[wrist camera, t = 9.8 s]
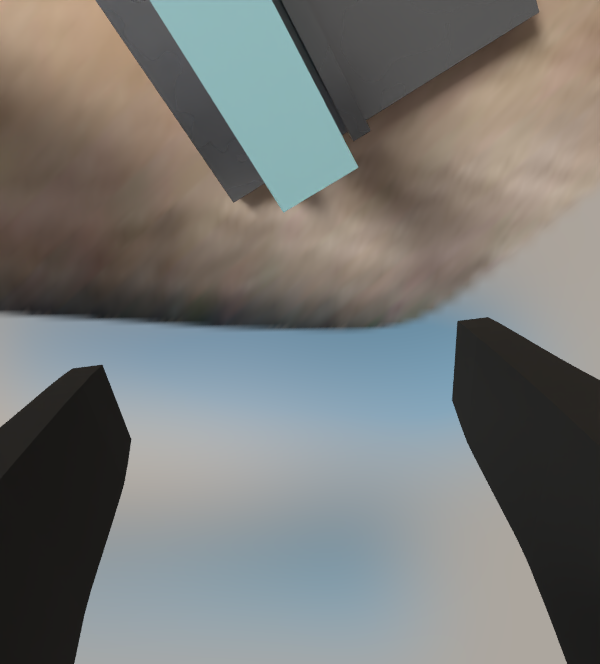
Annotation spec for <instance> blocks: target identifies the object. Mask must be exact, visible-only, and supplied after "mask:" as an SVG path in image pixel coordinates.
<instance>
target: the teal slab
mask: <svg viewBox="0 0 600 664" xmlns="http://www.w3.org/2000/svg"><path fill="white" fill-rule="evenodd" d="M150 2H151V3H152V5H153V6H154V8H155V10H156V11H157V13H158V14H159V16H160V18H161V19H162V21H163V22H164V24H165V25H166V27H167V29H168V30H169V32H170V33H171V35H172V37H173V38H174V40H175V41H176V43H177V44H178V46H179V48H180V49H181V51H182V52H183V54H184V56H185V57H186V59H187V60H188V62H189V64H190V65H191V67H192V68H193V70H194V71H195V73H196V75H197V76H198V78H199V79H200V81H201V83H202V84H203V86H204V87H205V89H206V91H207V92H208V94H209V95H210V97H211V98H212V100H213V102H214V103H215V105H216V106H217V108H218V110H219V111H220V113H221V114H222V116H223V117H224V119H225V121H226V122H227V124H228V125H229V127H230V129H231V130H232V132H233V133H234V135H235V137H236V138H237V140H238V141H239V143H240V144H241V146H242V148H243V149H244V151H245V152H246V154H247V156H248V157H249V159H250V160H251V162H252V163H253V165H254V167H255V168H256V170H257V171H258V173H259V175H260V176H261V178H262V179H263V181H264V183H265V184H266V186H267V187H268V189H269V190H270V192H271V194H272V195H273V197H274V198H275V200H276V202H277V203H278V205H279V206H280V208H281V210H282V211H283V212H285V211H287V210H288V209H290V208H292V207H293V206H295V205H297V204H298V203H300V202H302V201H303V200H305V199H307V198H308V197H310V196H312V195H313V194H315V193H317V192H318V191H320V190H322V189H323V188H325V187H327V186H328V185H330V184H332V183H333V182H335V181H337V180H338V179H340V178H342V177H343V176H345V175H347V174H348V173H350V172H352V171H353V170H355V169H357V168H358V166H357V164H356V162H355V160H354V158H353V156H352V154H351V152H350V150H349V148H348V146H347V144H346V142H345V141H344V139H343V137H342V135H341V133H340V131H339V129H338V127H337V125H336V123H335V121H334V119H333V117H332V115H331V114H330V112H329V110H328V108H327V106H326V104H325V102H324V100H323V98H322V96H321V94H320V92H319V90H318V88H317V87H316V85H315V83H314V81H313V79H312V77H311V75H310V73H309V71H308V69H307V67H306V65H305V63H304V61H303V60H302V58H301V56H300V54H299V52H298V50H297V48H296V46H295V44H294V42H293V40H292V38H291V36H290V34H289V32H288V31H287V29H286V27H285V25H284V23H283V21H282V19H281V17H280V15H279V13H278V11H277V9H276V7H275V5H274V4H273V2H272V0H150Z"/></svg>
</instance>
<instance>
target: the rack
mask: <svg viewBox="0 0 600 664" xmlns="http://www.w3.org/2000/svg"><path fill="white" fill-rule="evenodd" d="M96 2H97V3H98V5H99V6H100V7H101V9H102V10H103V12H104V13H105V15H106V16H107V18H108V19H109V21H110V22H111V24H112V25H113V27H114V28H115V29H116V31H117V32H118V34H119V35H120V37H121V38H122V40H123V41H124V43H125V44H126V46H127V47H128V49H129V50H130V51H131V53H132V54H133V56H134V57H135V59H136V60H137V62H138V63H139V65H140V66H141V68H142V69H143V71H144V72H145V74H146V75H147V76H148V78H149V79H150V81H151V82H152V84H153V85H154V87H155V88H156V90H157V91H158V93H159V94H160V96H161V97H162V98H163V100H164V101H165V103H166V104H167V106H168V107H169V109H170V110H171V112H172V113H173V115H174V116H175V118H176V119H177V120H178V122H179V123H180V125H181V126H182V128H183V129H184V131H185V132H186V134H187V135H188V137H189V138H190V140H191V141H192V142H193V144H194V145H195V147H196V148H197V150H198V151H199V153H200V154H201V156H202V157H203V159H204V160H205V162H206V163H207V164H208V166H209V167H210V169H211V170H212V172H213V173H214V175H215V176H216V178H217V179H218V181H219V182H220V184H221V185H222V186H223V188H224V189H225V191H226V192H227V194H228V195H229V197H230V198H231V200H232V201H233V203H234V202H236V201H237V200H239V199H240V198H242V197H244V196H245V195H247V194H248V193H250V192H252V191H253V190H255V189H256V188H258V187H260V186H261V185H263V184H264V181H263V179H262V178H261V176H260V175H259V173H258V171H257V170H256V168H255V167H254V165H253V163H252V162H251V160H250V159H249V157H248V156H247V154H246V152H245V151H244V149H243V148H242V146H241V144H240V143H239V141H238V140H237V138H236V137H235V135H234V133H233V132H232V130H231V129H230V127H229V125H228V124H227V122H226V121H225V119H224V117H223V116H222V114H221V113H220V111H219V110H218V108H217V106H216V105H215V103H214V102H213V100H212V98H211V97H210V95H209V94H208V92H207V91H206V89H205V87H204V86H203V84H202V83H201V81H200V79H199V78H198V76H197V75H196V73H195V71H194V70H193V68H192V67H191V65H190V64H189V62H188V60H187V59H186V57H185V56H184V54H183V52H182V51H181V49H180V48H179V46H178V44H177V43H176V41H175V40H174V38H173V37H172V35H171V33H170V32H169V30H168V29H167V27H166V25H165V24H164V22H163V21H162V19H161V18H160V16H159V14H158V13H157V11H156V10H155V8H154V6H153V5H152V3H151V2H150V0H96ZM272 2H273V4H274V5H275V7H276V9H277V11H278V13H279V15H280V17H281V19H282V21H283V23H284V25H285V27H286V29H287V31H288V32H289V34H290V36H291V38H292V40H293V42H294V44H295V46H296V48H297V50H298V52H299V54H300V56H301V58H302V60H303V61H304V63H305V65H306V67H307V69H308V71H309V73H310V75H311V77H312V79H313V81H314V83H315V85H316V87H317V88H318V90H319V92H320V94H321V96H322V98H323V100H324V102H325V104H326V106H327V108H328V110H329V112H330V114H331V115H332V117H333V119H334V121H335V123H336V125H337V127H338V129H339V131H340V133H341V135H343V134H345V133H346V132H347V133H348V134H349V136H350V137H351V139H352V140H353V141H355V140H357V139H358V138H360V137H361V136H363V135H365V134H366V133H368V132H370V131H371V130H370V128H369V126H368V124H367V122H366V120H367V119H369V118H370V117H372V116H373V115H375V114H377V113H378V112H380V111H381V110H383V109H385V108H386V107H388V106H390V105H391V104H393V103H394V102H396V101H398V100H399V99H401V98H402V97H404V96H406V95H407V94H409V93H410V92H412V91H414V90H415V89H417V88H418V87H420V86H422V85H423V84H425V83H426V82H428V81H430V80H431V79H433V78H434V77H436V76H438V75H439V74H441V73H442V72H444V71H446V70H447V69H449V68H450V67H452V66H454V65H455V64H457V63H458V62H460V61H462V60H463V59H465V58H466V57H468V56H470V55H471V54H473V53H474V52H476V51H478V50H479V49H481V48H483V47H484V46H486V45H487V44H489V43H491V42H492V41H494V40H495V39H497V38H499V37H500V36H502V35H503V34H505V33H507V32H508V31H510V30H511V29H513V28H515V27H516V26H518V25H519V24H521V23H523V22H524V21H526V20H527V19H529V18H531V17H532V16H534V15H535V14H537V13H539V9H538V6H537V2H536V0H272Z"/></svg>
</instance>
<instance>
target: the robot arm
mask: <svg viewBox="0 0 600 664" xmlns="http://www.w3.org/2000/svg"><path fill="white" fill-rule="evenodd" d="M456 338H457V339H456V353H455V366H454V367H455V368H454V382H453V397H452V401H453V404H454V406H455V410H456V413H457V416H458V418H459V421H460V424H461V427H462V430H463V432H464V435H465V438H466V440H467V443H468V444H469V447H470V449H471V451H472V453H473V455H474V457H475V459H476V461H477V463H478V465H479V467H480V469H481V470H482V472H483V474H484V476H485V478H486V480H487V482H488V484H489V486H490V488H491V490H492V492H493V493H494V496H495V497H496V499H497V501H498V503H499V505H500V507H501V509H502V511H503V513H504V515H505V517H506V519H507V520H508V522H509V524H510V526H511V528H512V530H513V531H514V534H515V536H516V538H517V540H518V542H519V544H520V546H521V548H522V550H523V553H524V555H525V557H526V559H527V561H528V564H529V566H530V569H531V571H532V573H533V576H534V579H535V581H536V583H537V586H538V589H539V591H540V594H541V596H542V599H543V601H544V603H545V606H546V609H547V611H548V614H549V617H550V619H551V622H552V624H553V627H554V630H555V632H556V635H557V638H558V640H559V643H560V646H561V648H562V651H563V654H564V656H565V659H566V661H567V664H600V380H598V379H596V378H595V377H593V376H591V375H589V374H587V373H585V372H583V371H581V370H580V369H578V368H576V367H574V366H572V365H571V364H569V363H567V362H565V361H563V360H562V359H560V358H558V357H556V356H555V355H553V354H551V353H550V352H548V351H546V350H544V349H543V348H541V347H539V346H538V345H536V344H534V343H532V342H531V341H529V340H527V339H526V338H524V337H522V336H521V335H519V334H517V333H515V332H514V331H512V330H510V329H509V328H507V327H505V326H503V325H502V324H500V323H498V322H496V321H494V320H492V319H490V318H488V317H487V318H479V319H470V320H462V321H458V323H457V337H456ZM130 444H131V438H130V435H129V432H128V430H127V427H126V425H125V422H124V419H123V417H122V414H121V412H120V409H119V407H118V404H117V401H116V399H115V396H114V394H113V391H112V389H111V386H110V383H109V381H108V378H107V376H106V373H105V370H104V368H103V365H97V366H90V367H81V368H73V369H71V370H70V371H69V372H67V373H66V374H64V375H63V376H62V377H60V378H59V379H58V380H57V381H55V382H54V383H53V384H51V385H50V386H49V387H48V388H47V389H45V390H44V391H43V392H42V393H41V394H39V395H38V396H37V397H36V398H35V399H34V400H33V401H31V402H30V403H29V404H28V405H27V406H25V407H24V408H23V409H22V410H21V411H20V412H18V413H17V414H16V415H15V416H14V417H12V418H11V419H10V420H9V421H8V422H6V423H5V424H4V425H3V426H1V427H0V664H74V662H75V657H76V652H77V647H78V642H79V638H80V633H81V628H82V623H83V619H84V614H85V610H86V607H87V602H88V599H89V596H90V592H91V588H92V585H93V582H94V579H95V576H96V573H97V569H98V566H99V563H100V560H101V557H102V554H103V550H104V547H105V544H106V541H107V538H108V535H109V532H110V528H111V525H112V522H113V519H114V516H115V512H116V509H117V506H118V503H119V499H120V496H121V492H122V489H123V485H124V481H125V476H126V470H127V465H128V458H129V451H130Z"/></svg>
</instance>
